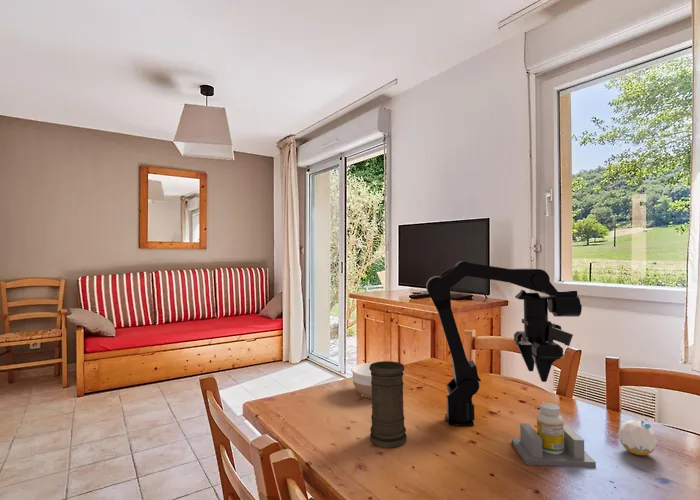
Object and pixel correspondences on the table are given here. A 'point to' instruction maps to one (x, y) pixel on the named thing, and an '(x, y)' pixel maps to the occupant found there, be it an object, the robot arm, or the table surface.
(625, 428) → the ornament
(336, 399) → the table surface
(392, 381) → the container
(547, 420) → the supplement bottle
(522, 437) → the holder
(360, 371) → the bowl
